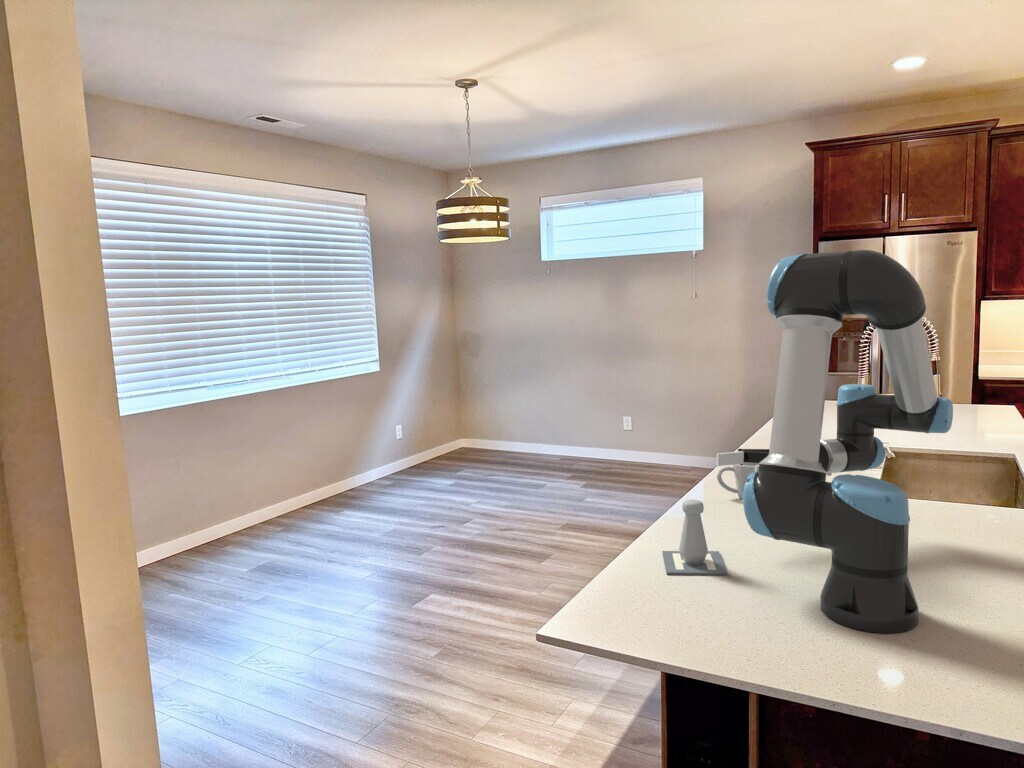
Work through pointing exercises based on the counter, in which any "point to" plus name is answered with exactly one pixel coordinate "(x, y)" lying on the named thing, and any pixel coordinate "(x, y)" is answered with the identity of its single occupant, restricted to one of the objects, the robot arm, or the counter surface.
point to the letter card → (680, 567)
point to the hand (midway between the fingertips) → (735, 465)
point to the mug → (738, 476)
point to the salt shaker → (693, 534)
